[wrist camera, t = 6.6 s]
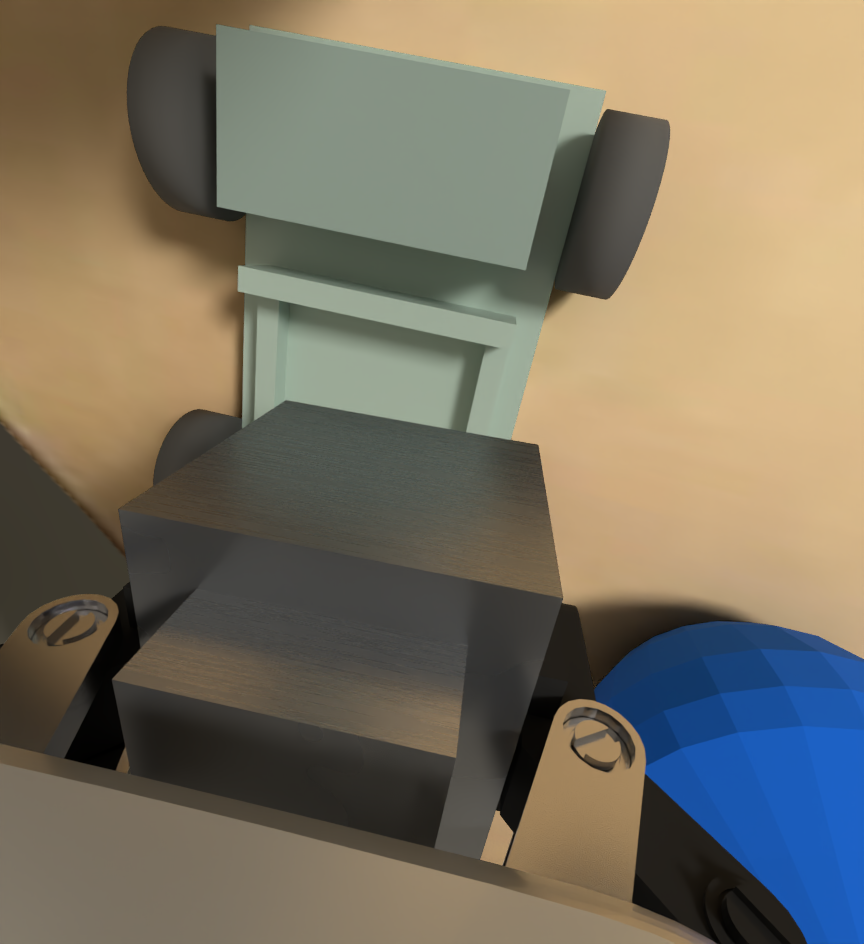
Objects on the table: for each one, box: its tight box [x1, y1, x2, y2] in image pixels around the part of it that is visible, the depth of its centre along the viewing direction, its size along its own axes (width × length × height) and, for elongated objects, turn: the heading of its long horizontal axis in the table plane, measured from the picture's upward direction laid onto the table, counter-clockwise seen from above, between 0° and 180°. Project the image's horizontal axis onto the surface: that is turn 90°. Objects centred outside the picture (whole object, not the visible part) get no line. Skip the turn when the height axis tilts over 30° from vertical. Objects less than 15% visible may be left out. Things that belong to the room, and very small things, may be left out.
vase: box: [594, 621, 864, 944], centre depth 22 cm, size 18×18×19 cm
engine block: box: [112, 400, 563, 860], centre depth 9 cm, size 7×6×6 cm
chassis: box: [127, 24, 670, 486], centre depth 21 cm, size 22×18×6 cm
